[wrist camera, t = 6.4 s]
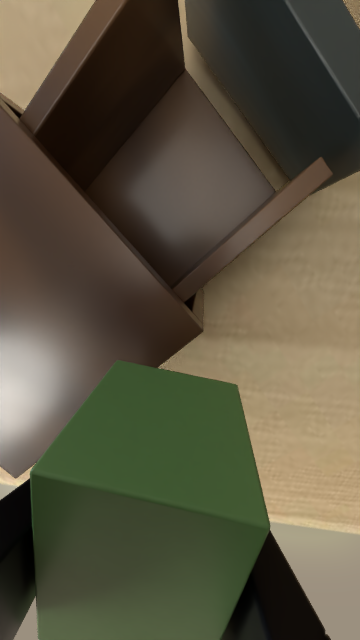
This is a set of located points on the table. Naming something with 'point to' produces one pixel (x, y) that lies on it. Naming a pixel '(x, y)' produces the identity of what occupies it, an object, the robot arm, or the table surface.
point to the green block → (146, 511)
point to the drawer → (201, 121)
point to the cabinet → (68, 298)
